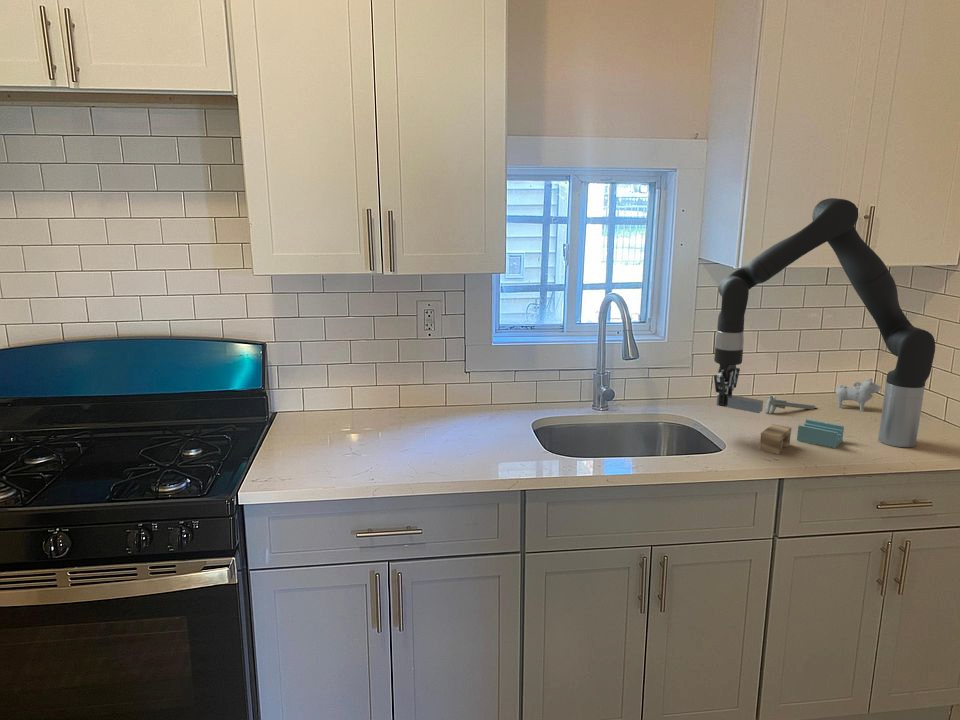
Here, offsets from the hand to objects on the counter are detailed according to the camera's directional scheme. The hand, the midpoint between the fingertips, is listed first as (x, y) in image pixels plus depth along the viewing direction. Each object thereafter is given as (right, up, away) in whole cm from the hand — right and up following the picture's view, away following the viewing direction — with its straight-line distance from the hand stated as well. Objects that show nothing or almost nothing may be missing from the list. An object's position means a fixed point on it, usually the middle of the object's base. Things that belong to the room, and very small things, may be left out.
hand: (724, 404), depth 193 cm
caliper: (+32, -4, +26) cm, 41 cm away
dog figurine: (+54, -4, +29) cm, 61 cm away
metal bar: (+3, -1, -3) cm, 4 cm away
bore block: (+11, -12, -8) cm, 18 cm away
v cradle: (+26, -10, -2) cm, 28 cm away
